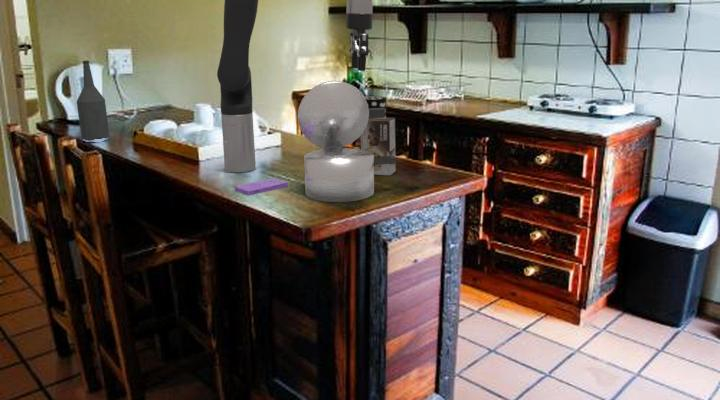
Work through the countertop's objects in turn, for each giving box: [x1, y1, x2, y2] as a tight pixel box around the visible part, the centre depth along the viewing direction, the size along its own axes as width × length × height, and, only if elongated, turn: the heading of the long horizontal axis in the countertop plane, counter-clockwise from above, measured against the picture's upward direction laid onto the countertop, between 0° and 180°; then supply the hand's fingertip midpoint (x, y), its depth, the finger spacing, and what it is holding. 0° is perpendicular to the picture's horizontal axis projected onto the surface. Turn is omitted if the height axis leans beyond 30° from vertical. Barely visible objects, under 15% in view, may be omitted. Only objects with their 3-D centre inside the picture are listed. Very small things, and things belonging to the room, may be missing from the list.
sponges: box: [234, 177, 288, 196], centre depth 169 cm, size 7×13×2 cm, turn 131°
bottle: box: [76, 60, 111, 140], centre depth 234 cm, size 10×10×30 cm
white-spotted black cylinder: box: [359, 95, 387, 150], centre depth 198 cm, size 8×8×20 cm
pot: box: [303, 147, 397, 203], centre depth 163 cm, size 24×18×10 cm
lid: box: [297, 80, 385, 149], centre depth 167 cm, size 24×20×3 cm
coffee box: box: [361, 116, 397, 176], centre depth 183 cm, size 9×6×16 cm
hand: (358, 69), depth 185 cm, fingers open, 8 cm apart
